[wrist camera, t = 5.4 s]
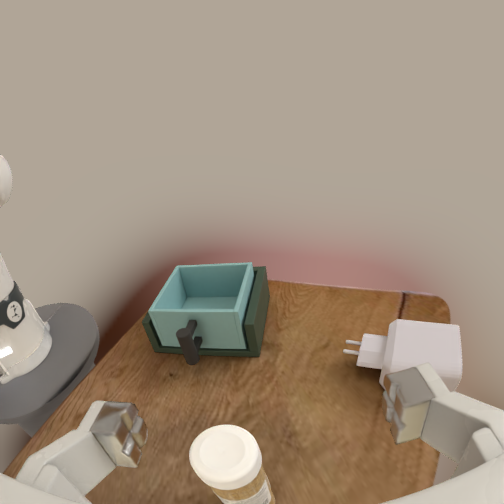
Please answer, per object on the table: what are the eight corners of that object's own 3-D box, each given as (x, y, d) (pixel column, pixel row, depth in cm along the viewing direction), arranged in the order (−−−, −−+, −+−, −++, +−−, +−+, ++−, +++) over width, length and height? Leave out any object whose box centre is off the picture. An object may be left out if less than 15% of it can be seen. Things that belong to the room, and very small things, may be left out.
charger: (350, 335, 42) (450, 347, 36) (335, 385, 35) (450, 399, 29) (352, 310, 40) (459, 321, 34) (336, 360, 33) (463, 375, 26)
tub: (151, 367, 40) (134, 332, 37) (186, 298, 54) (176, 265, 51) (240, 373, 38) (231, 336, 35) (257, 296, 52) (251, 262, 49)
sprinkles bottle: (269, 480, 25) (250, 415, 19) (280, 517, 21) (266, 472, 15) (224, 489, 25) (184, 428, 19) (233, 527, 21) (191, 486, 15)
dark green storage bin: (154, 352, 45) (141, 322, 42) (182, 298, 57) (174, 270, 54) (259, 356, 42) (253, 324, 39) (269, 296, 54) (265, 266, 51)
